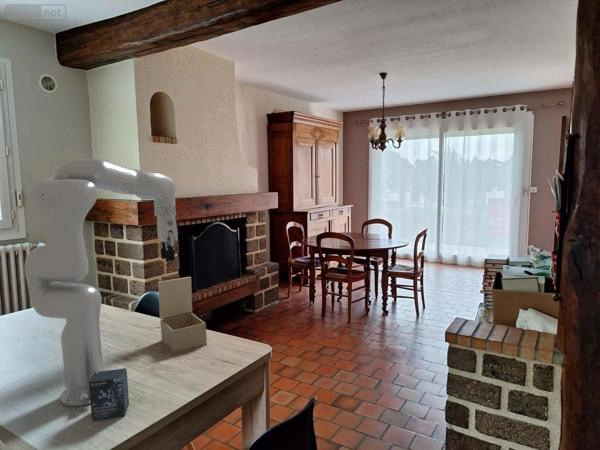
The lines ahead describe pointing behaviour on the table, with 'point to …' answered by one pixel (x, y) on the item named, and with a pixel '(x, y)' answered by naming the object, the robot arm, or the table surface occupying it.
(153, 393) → the table surface
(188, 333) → the tan open container
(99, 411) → the box
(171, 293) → the door
